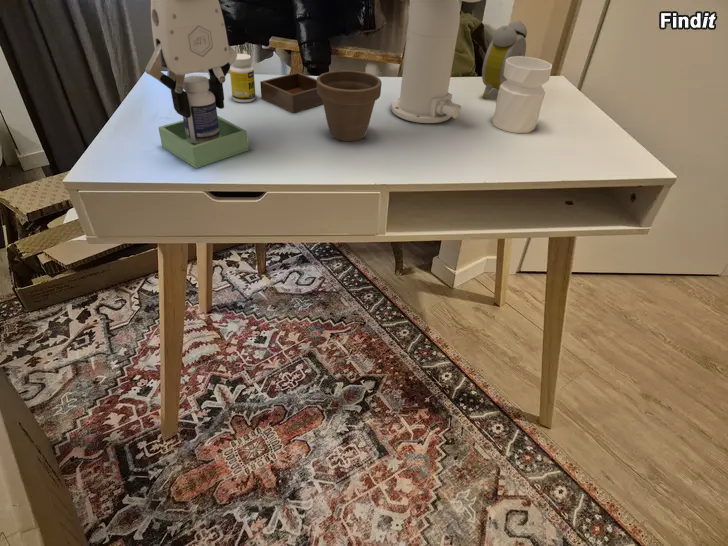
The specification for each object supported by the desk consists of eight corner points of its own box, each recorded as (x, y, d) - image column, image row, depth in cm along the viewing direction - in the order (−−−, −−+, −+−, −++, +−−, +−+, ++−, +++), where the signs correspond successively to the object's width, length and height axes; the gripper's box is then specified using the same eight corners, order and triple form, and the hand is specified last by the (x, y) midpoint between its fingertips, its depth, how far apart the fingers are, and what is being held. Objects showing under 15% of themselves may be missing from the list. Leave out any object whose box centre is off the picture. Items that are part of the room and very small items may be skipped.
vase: (522, 137, 97) (539, 73, 89) (483, 123, 101) (497, 61, 94) (542, 125, 102) (561, 64, 94) (505, 112, 106) (519, 53, 99)
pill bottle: (226, 136, 85) (219, 77, 79) (208, 147, 81) (200, 86, 75) (198, 130, 86) (190, 72, 81) (180, 141, 82) (169, 81, 76)
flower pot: (316, 121, 97) (316, 67, 90) (374, 122, 98) (378, 69, 91) (316, 146, 88) (316, 89, 81) (380, 148, 89) (385, 91, 83)
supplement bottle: (253, 103, 102) (250, 60, 96) (230, 102, 102) (225, 59, 96) (257, 95, 105) (254, 53, 100) (235, 94, 105) (231, 52, 100)
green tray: (248, 150, 85) (246, 130, 83) (195, 168, 79) (192, 147, 77) (214, 131, 90) (211, 112, 88) (162, 146, 84) (158, 126, 82)
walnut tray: (330, 101, 105) (330, 84, 103) (293, 113, 99) (292, 95, 97) (298, 88, 110) (298, 72, 108) (261, 98, 104) (260, 81, 102)
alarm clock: (496, 85, 120) (511, 17, 111) (523, 92, 117) (541, 23, 108) (475, 98, 112) (489, 25, 103) (503, 105, 110) (521, 32, 100)
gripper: (136, -7, 62) (164, 132, 74) (248, -18, 72) (258, 105, 84) (108, -17, 66) (138, 116, 77) (218, -26, 76) (231, 92, 88)
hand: (200, 109), depth 81 cm, fingers closed on pill bottle, 5 cm apart
